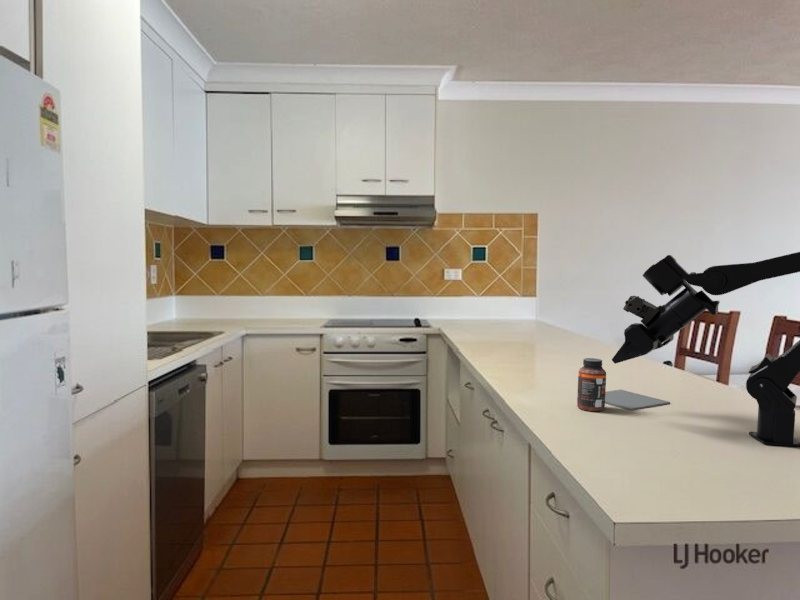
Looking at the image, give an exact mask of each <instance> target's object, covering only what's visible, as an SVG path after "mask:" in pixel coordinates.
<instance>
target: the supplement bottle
mask: <svg viewBox="0 0 800 600" xmlns="http://www.w3.org/2000/svg"><path fill="white" fill-rule="evenodd" d="M582 363H583V366H582V367H580V368H579V370H578V376H577V378H578V379H577V398H576V400H577V401H576V402H577V404H576V406H577V408H578V409H581V410H582V411H586V412H587V411H588V412H602V411H604V410H605V408H606V407H605V406H606V403H605V392H606V390H607V389H606V387H607V386H606V385H607V372H606V370H605V369H604V367H603V360H602V359H601V358H594V357H586V358H583V360H582Z"/></svg>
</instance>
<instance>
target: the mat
mask: <svg viewBox="0 0 800 600" xmlns="http://www.w3.org/2000/svg"><path fill="white" fill-rule="evenodd" d="M669 404H671V401H668V400H665V399H664V400H663V399H660V398H657V397H652V396H648V395H644V394H639V393H637V392H636V393H635V392H632V391H627V390H624V389H616V390H608V391H605V405H610V406H614V407H617V408H621V409H624V410H627V411H635V410H641V409H647V408H653V407H658V406H663V405H669Z"/></svg>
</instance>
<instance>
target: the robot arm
mask: <svg viewBox="0 0 800 600" xmlns="http://www.w3.org/2000/svg"><path fill="white" fill-rule="evenodd" d="M795 273H800V251H798V252H793V253H789V254H785V255H781V256H776V257H771V258H767V259H763V260H759V261H755V262H746V263H745V262H744V263H735V264H734V263H733V264H732V263H731V264H722V265H712V266H710V267H707V268H706V269H704V271H702V272H696V271H695V272H694V271H692V272H691V271H690V272H687V271H686V269H684V267H682V266H681V265H680V263H678V262H677V260H676V259H675V258H674V257H673V255H672V254H668V255H666V256H665V257H663V258H662V259H660V260H659V261H658V262H656V263H654V264H652V265H651V266H649V267H648V269H646V270H645V271H644V273H643V274H642V277H643V278H644V279H645V280H646V281H647V282H648V283H649V284H650V285H651V286H652V287H653V288H654V289H655V290H656V292H658V294H660V295H661V296H664V295H668V296H669V297H671V296H673V295H674V294H675V293H677V292H678V291H680V290H681V289H682V288H683V287H684V288H683V289H682V290H681V291H680V292H678V293H677V294H676V295H675V296H674V297H672V298H671V299H670V300H669V301H667V302H666V303H665V304H662V305H661V304H660V305H659V306H656V305H655V304H653V303H651V302H649V301H647V300H645V298H641V297H640V296H639V295H631V296H629V298H628V299H627V300H625V302H624V304H625V305H624V306H623V308H622V309H623V311H625V312H626V313H631V314H632V315H635V316H636V317H638V318H640V319H641V320H640V322H641V323H637V322H635V323H631V324H630V325H628V326H627V327H626V328H625V329H624V330H623V331H624V332H623V335H624V342H623V343H622V345H621V347H619V349H618V350H617V352H616V353H615V355H614V356H613V357H612V358H611V361H612V362H613V363H614V364H619V363H621V362H626V361H628V360H631V359H635V358H639V357H642V356H645V355H648V354H649V353H651V352H652V351H655V350H659V349H661V348H664V346H667V345H669V343H672V341H673V340H674V339H675V338H674V335H676V334H677V333H678V332H679V331H680V330H683V329H684V328H686V327H687V325H688V324H690V323H691V322H692V321H693V320H695V319H696V318H697V317H698V316H700V315H701V314H702V313H704V312H705V311H709V313H710V314H711V315H712V316H713V315H714V316H715V315H717V314H718V313H719V306H720V300H712V299H711V298H710V297H709V295H711V296H722V295H725V294H728V293H731V292H734V291H736V290H739V289H742V288H744V287H748V286H750V285H752V284H754V283H757V282H760V281H764V280H768V279H773V278H778V277H783V276H788V275H791V274H795ZM693 286H695V287H699V288H700V287H701V288H702V290H699V291H697V290H696V289H694V287H693ZM704 291H705V292H706V293H707V294H709V295H707V294H706V293H705V292H704ZM748 373H749V374H750V375H749V376H748V378H747V380H746V381H745V387H746V390H747V393H748V394H749V396H751V397H752V398H753V399H755V400H756V403H757V405H758V410H757V424H756V425H757V426H756V431H748V435H749V436H751V437H752V438H754V439H756V440H757V441H759V442H760V443H762V444H764V445H768V446H772V445H773V446H784V447H785V446H786V447H800V441H798V440H797V439H795V424H796V423H795V422H796V410H795V409H796V406H797V400H798V397H797V395H796V394H795V393H794V392H793V391H792V390H791V389H790V388H789V387H790V385H791V384H792V382H793V381H794V380H795V378H796V377H797V376H798V374H799V373H800V339H799V340H798V341H796V342H795V343H794V344H793V345H792V346H791V347H790V348H789V349H787V350H786V351H785V352H784V353H781V354H780V355H778V356H776V357H774V358H773V357H772V356H771V354H770V353H766V354H765V356H764V357H763V359H762V360H761V361H760V362H759V363H757V364H755V365H753V366H751V367H750V369H749V371H748Z"/></svg>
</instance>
